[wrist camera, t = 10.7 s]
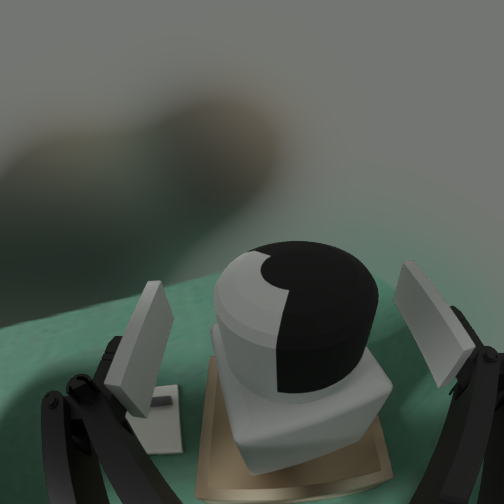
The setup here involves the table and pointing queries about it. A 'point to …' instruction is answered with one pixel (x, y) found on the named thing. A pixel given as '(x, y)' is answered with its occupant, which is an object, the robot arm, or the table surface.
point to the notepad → (160, 423)
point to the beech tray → (288, 479)
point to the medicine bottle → (296, 352)
